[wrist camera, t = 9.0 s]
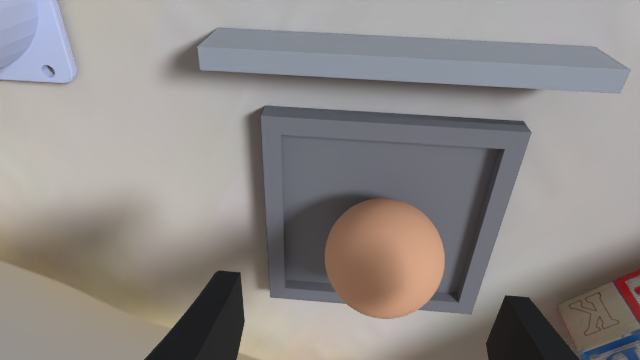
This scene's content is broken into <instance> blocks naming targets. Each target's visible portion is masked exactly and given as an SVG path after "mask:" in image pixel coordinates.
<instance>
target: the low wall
mask: <svg viewBox="0 0 640 360" xmlns="http://www.w3.org/2000/svg"><path fill="white" fill-rule="evenodd" d="M197 49H198V57H199V65H200V70H208V71H226V72H243V73H261V74H279V75H297V76H315V77H333V78H350V79H368V80H386V81H404V82H422V83H440V84H458V85H475V86H493V87H511V88H529V89H547V90H565V91H582V92H600V93H618V94H620V93H621V91H622V89H623V86H624V84H625V82H626V79H627V77H628V75H629V73H630V69H629V68H627V67H626V66H624V65H623V64H621V63H620V62H618V61H616V60H615V59H613V58H612V57H610V56H609V55H607V54H606V53H604V52H603V51H601V50H600V49H598V48H596V47H588V46H569V45H549V44H529V43H509V42H489V41H470V40H450V39H430V38H410V37H390V36H371V35H351V34H331V33H311V32H291V31H272V30H252V29H232V28H217V29H216V30H215V31H214V32H213V33H212V34H211V35H210V36H208V37H207V38H206V39H205V40H204V41H203V42H202V43H201V44H200V45H199V46H197Z"/></svg>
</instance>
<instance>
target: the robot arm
mask: <svg viewBox="0 0 640 360" xmlns="http://www.w3.org/2000/svg"><path fill="white" fill-rule="evenodd" d="M48 65H49V66H50V67H52V68H53V70H54V71H55V74H53V73H52V72H50V71H49V69H48ZM76 76H77V68H76V65H75V61H74V58H73V54H72V51H71V48H70V44H69V41H68V37H67V34H66V30H65V27H64V23H63V20H62V16H61V13H60V9H59V6H58V3H57V0H0V80H15V81H32V82H49V83H69V82H71V81H72V80H74V79H75V78H76ZM244 322H245V320H244V309H243V297H242V286H241V274H240V272H228V271H218V272H216V273H215V274H214V275H213V277H212V278H211V280H210V281H209V282H208V284H207V285H206V287H205V288H204V289H203V291H202V292H201V293H200V295H199V296H198V297H197V299H196V300H195V301H194V302H193V304H192V305H191V306H190V308H189V309H188V310H187V311H186V313H185V314H184V315H183V316H182V317H181V319H180V320H179V321H178V322H177V323H176V325H175V326H174V327H173V328H172V329H171V331H170V332H169V333H168V334H167V335H166V336H165V337H164V339H163V340H162V341H161V342H160V343H159V344H158V345H157V346H156V347H155V348H154V349H153V351H152V352H151V353H150V354H149V355H148V356H147V357H146V358H145V359H144V360H236V359H237V355H238V351H239V346H240V341H241V336H242V331H243V327H244ZM486 345H487V352H488V358H489V360H580V359H579V358H578V357H577V356H576V355H575V354H574V352H573V351H572V350H571V349H570V348H569V346H568V345H567V344H566V343H565V341H564V340H563V339H562V338H561V337H560V335H559V334H558V333H557V332H556V330H555V329H554V328H553V327H552V326H551V324H550V323H549V322H548V321H547V319H546V318H545V317H544V316H543V314H542V313H541V312H540V311H539V310H538V308H537V307H536V306H535V305H534V303H533V302H532V301H531V300H530V298H529V297H518V296H506V295H505V298H504V300H503V303H502V305H501V308H500V310H499V313H498V315H497V318H496V320H495V323H494V325H493V328H492V330H491V333H490V335H489V338H488V340H487V343H486Z"/></svg>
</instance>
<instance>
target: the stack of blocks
mask: <svg viewBox="0 0 640 360" xmlns="http://www.w3.org/2000/svg"><path fill="white" fill-rule="evenodd" d="M557 308H558V310H559V312H560V315H561V317H562V319H563V321H564V323H565V325H566V327H567V329H568V332H569V334H570V336H571V338H572V340H573V343H574V345H575V347H576V349H577V351H578V353H579V354H580V355H581V359H582V360H640V270H638V271H635V272H633V273H631V274H629V275H626V276H624V277H622V278H619V279H617V280H615V281H613V282H610V283H607V284H605V285H602V286H600V287H598V288H595V289H593V290H591V291H588V292H586V293H584V294H581V295H579V296H577V297H574V298H572V299H570V300H567V301H565V302H563V303H561V304H559V305H557Z"/></svg>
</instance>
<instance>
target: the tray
mask: <svg viewBox="0 0 640 360" xmlns="http://www.w3.org/2000/svg"><path fill="white" fill-rule="evenodd" d="M261 131H262V150H263V169H264V188H265V208H266V227H267V246H268V265H269V284H270V297H272V298H284V299H296V300H308V301H320V302H331V303H343V304H346V303H345V302H344V301H343V300H342V299H341V298H340V297H339V296H338V294H337V293H336V291H335V290H334V288H333V287H332V285H331V283H330V280H329V278H328V275H327V271H326V266H325V248H326V242H327V239H328V236H329V233H330V231H331V229H332V227H333V226H334V224H335V223H336V221H337V220H338V219H339V218H340V217H341V216H342V215H343V214H344V213H345V212H346V211H347V210H348V209H350V208H351V207H353V206H354V205H356V204H359V203H361V202H363V201H366V200H370V199H375V198H391V199H396V200H400V201H403V202H406V203H408V204H410V205H412V206H414V207H416V208H417V209H419V210H420V211H421V212H423V213H424V214H425V215H426V216H427V217H428V218H429V219H430V221H431V222H432V223H433V225H434V226H435V228H436V229H437V231H438V233H439V235H440V238H441V240H442V243H443V248H444V254H445V266H444V272H443V277H442V279H441V282H440V284H439V287H438V288H437V290H436V292H435V293H434V295H433V296H432V297H431V299H430V300H429V301H428V302H427V303H426V304H424V305H423V306H422V307H421V308H419V309H418V310H426V311H438V312H450V313H462V314H472V311H473V308H474V305H475V302H476V299H477V296H478V293H479V290H480V287H481V283H482V280H483V277H484V274H485V271H486V268H487V265H488V262H489V259H490V256H491V253H492V250H493V247H494V244H495V241H496V238H497V235H498V232H499V229H500V226H501V223H502V220H503V217H504V214H505V211H506V208H507V205H508V202H509V199H510V196H511V193H512V190H513V187H514V184H515V181H516V178H517V175H518V172H519V169H520V166H521V163H522V160H523V157H524V154H525V151H526V148H527V145H528V141H529V138H530V135H531V131H530V130H529V128H528V127H527V125H526V124H525V123H524V121H511V120H494V119H478V118H461V117H444V116H428V115H411V114H394V113H378V112H361V111H345V110H328V109H311V108H295V107H278V106H265V108H264V110H263V112H262V114H261Z"/></svg>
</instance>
